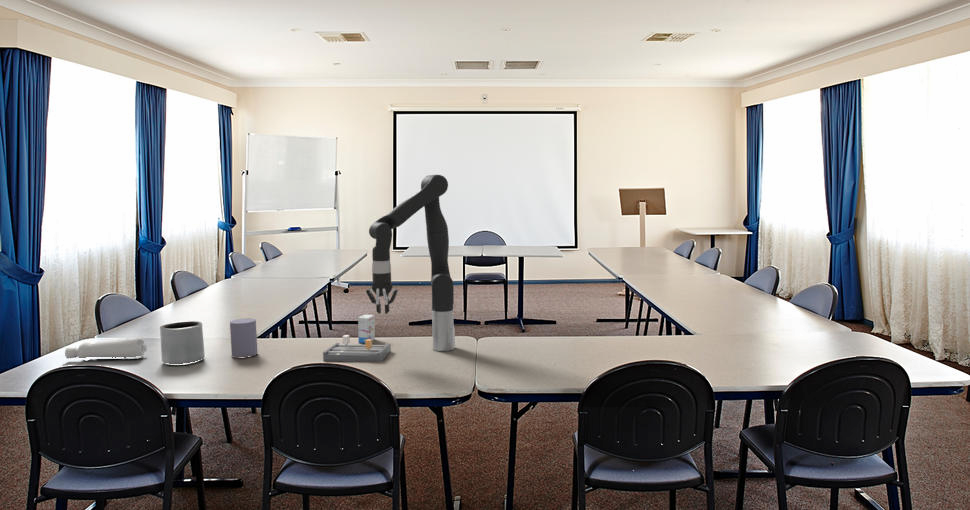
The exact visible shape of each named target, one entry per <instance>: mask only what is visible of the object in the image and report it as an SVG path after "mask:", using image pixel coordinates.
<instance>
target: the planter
mask: <svg viewBox="0 0 970 510" xmlns="http://www.w3.org/2000/svg"><path fill="white" fill-rule="evenodd" d="M159 332H160V334H159V335H160V349H161V350H160V352H161V353H160V355H161V363H162V362H164V363H169V364H183V363H190V362H195V361H198V360H201V359H203V358H204V359H205V342H204V330H203V323H202V322H201V321H198V320H197V321H196V320H185V321H174V322H169V323H165V324H162V325H161V326H160V327H159ZM204 359H203V360H204ZM201 361H202V360H201ZM164 363H163V364H164Z"/></svg>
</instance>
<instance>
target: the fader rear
mask: <svg viewBox="0 0 970 510" xmlns="http://www.w3.org/2000/svg"><path fill="white" fill-rule="evenodd" d="M350 342H351V341H350V334H344V335H342V345H345V347H348V345H349V344H350Z"/></svg>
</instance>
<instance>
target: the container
mask: <svg viewBox="0 0 970 510" xmlns="http://www.w3.org/2000/svg"><path fill="white" fill-rule="evenodd" d="M229 330H230V332H229V333H230V346H231V357H232V356H234V357H248V356H253V355H255V356H257V355H258V354H257V353H259V352H258V351H259V350H258V337H257V318H256V319H255V318H239V319H232V320H230V321H229ZM256 354H257V355H256ZM253 357H254V356H253Z"/></svg>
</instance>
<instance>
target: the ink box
mask: <svg viewBox="0 0 970 510" xmlns="http://www.w3.org/2000/svg"><path fill="white" fill-rule="evenodd" d="M357 320H358V321H357V323H358V324H357V325H358V326H357V327H358V344H365V341H366V340H367V339H372V342H373V341H374V340H375V339H376V338H375V337H376V335H375V334H376V333H375V332H376V331H375V330H376V329H375V327H376V325H375V314H363V315H360V316H358V319H357Z"/></svg>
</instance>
